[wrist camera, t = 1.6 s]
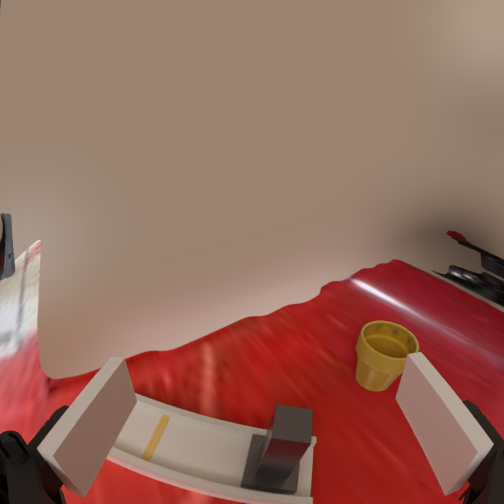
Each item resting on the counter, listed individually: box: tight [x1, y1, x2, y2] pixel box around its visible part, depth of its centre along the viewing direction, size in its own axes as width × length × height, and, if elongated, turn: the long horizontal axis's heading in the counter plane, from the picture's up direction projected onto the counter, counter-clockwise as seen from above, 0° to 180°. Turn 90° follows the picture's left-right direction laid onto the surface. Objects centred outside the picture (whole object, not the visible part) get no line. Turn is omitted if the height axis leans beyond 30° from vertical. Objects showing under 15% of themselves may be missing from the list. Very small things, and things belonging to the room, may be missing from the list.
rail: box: [106, 393, 316, 504], centre depth 28 cm, size 26×10×3 cm, turn 80°
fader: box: [240, 404, 313, 494], centre depth 24 cm, size 6×7×10 cm
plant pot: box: [355, 321, 419, 391], centre depth 42 cm, size 10×10×10 cm
